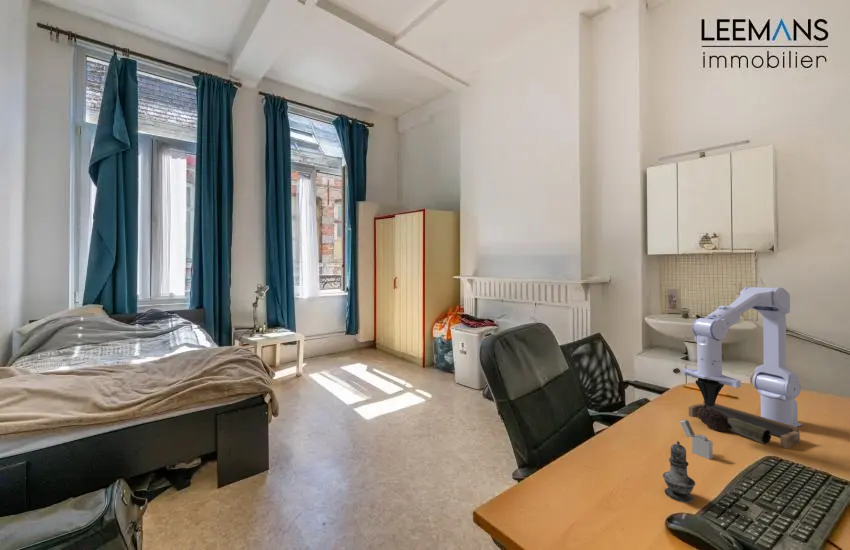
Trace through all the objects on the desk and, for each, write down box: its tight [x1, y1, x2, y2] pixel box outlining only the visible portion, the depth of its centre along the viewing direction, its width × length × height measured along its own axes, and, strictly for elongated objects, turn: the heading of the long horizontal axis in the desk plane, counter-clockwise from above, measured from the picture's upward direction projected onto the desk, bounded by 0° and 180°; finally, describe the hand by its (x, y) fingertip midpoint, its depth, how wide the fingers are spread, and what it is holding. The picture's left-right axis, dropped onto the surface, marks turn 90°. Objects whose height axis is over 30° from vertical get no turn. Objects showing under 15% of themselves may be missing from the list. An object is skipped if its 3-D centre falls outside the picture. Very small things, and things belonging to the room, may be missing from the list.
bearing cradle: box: [688, 400, 801, 449], centre depth 111 cm, size 8×25×4 cm, turn 22°
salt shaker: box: [662, 440, 696, 504], centre depth 79 cm, size 6×6×12 cm
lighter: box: [679, 419, 714, 460], centre depth 97 cm, size 7×2×8 cm, turn 27°
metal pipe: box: [697, 408, 772, 445], centre depth 109 cm, size 18×7×6 cm, turn 23°
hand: (709, 405), depth 106 cm, fingers closed
